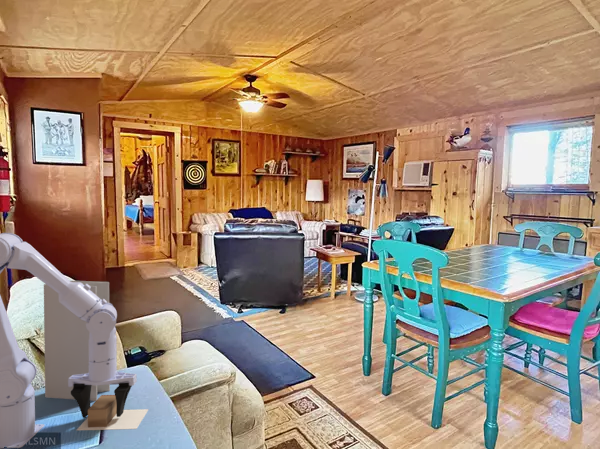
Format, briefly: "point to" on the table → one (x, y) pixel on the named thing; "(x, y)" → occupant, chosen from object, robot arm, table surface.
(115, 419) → the beige board
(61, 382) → the tall grey box
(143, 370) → the table surface
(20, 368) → the robot arm
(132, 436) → the table surface
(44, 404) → the table surface
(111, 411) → the walnut block
